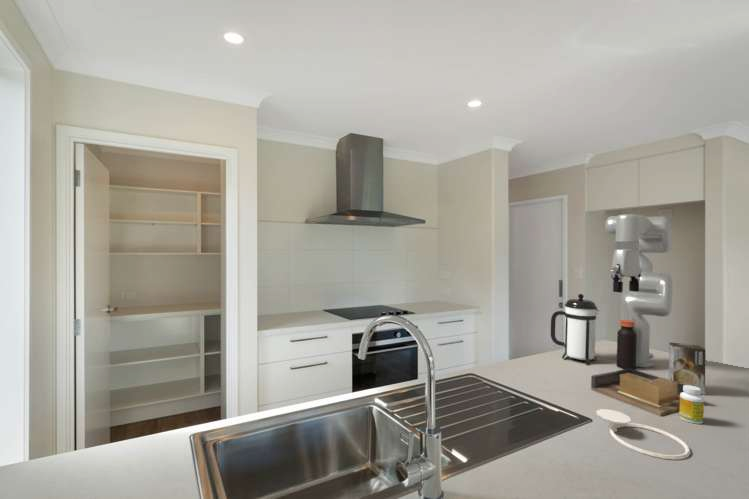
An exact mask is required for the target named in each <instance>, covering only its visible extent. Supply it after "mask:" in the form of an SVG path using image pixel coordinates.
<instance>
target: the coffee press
mask: <svg viewBox="0 0 749 499" xmlns="http://www.w3.org/2000/svg"><path fill="white" fill-rule="evenodd" d="M577 297H578V298H570V299H568V300H566V301H565V303H564V308H565V311H563V310H559V311H555V312H554V313H552V315H551V319H550V337H551V340H552V342H553V343H554V344H555V345H558V346H561V347H563V348H564V353H563V354H562V356H561V359H563V360H565V361H567V360H568V359H569V358H571V359H574V360H575V359H576V360H581V361H584V364H585V365H589V366H590V364H591V360H592V361H597V357H596V354H595V353H596V328H597V327H596V326H597V325H596V322H597V321H596V320H597V315H601V312H600V310H599V309H598V306H597V305H596V303H595V302H594V301H592V300H589V299H584V298H585V297H584V294H583V293H579V294H578V295H577ZM558 316H564V319H565V321H564V342H563V341H560V340H558V339H557V338H556V319H557V317H558Z"/></svg>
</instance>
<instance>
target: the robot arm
mask: <svg viewBox="0 0 749 499" xmlns="http://www.w3.org/2000/svg"><path fill="white" fill-rule="evenodd" d="M604 226H605V231H606V232H607V234H608V235H612V236H613V235H615V242H614V243H615V246H614V248H615V249H614V251H613V255H612V256H613V257H612V262H611V269H610V274H611V278H612V282H613V283H612V285H613V286H612V292H614V293H615V292H616V293H623V290H624V289H623V288H624V287H623V286H624V285H623V284H624V281H623V280H624V277H625V278H627V277H628V282H627V283H628V290H629V291H628V292H626V293H624V294H623V295H622V296H621V305H622V306H621V307H622V314H623V320H631V321H634V328H633V330H634V331H635V332H636V334H637V340H636V368H647V369H648V368H649V369H650V368H653V367H654V362H652V361H650V359H652V358H654V354H653V353H652V352H651V353H650V341H651V340H650V336H651V334H650V333H651V326H650V323H649V321H648V320H647V319H646V318H645V316H653V317H665V318H666V317H668V316H670V314H671V312H672V307H673V291H674V290H673V289H674V288H673V287H674V285H673V284H674V282H673V278H672V276H671V275H670V274H669V273H666V272H660V271H659V272H657V271H653V268H654V264H653V262H652V261H651V260H650V258H648V257H647V255H644V254H645V253H646V254H666V253H669V252H670V251H671V249H672V245H673V243H672V242H673V240H672V230H671V224H670V221H669V220H668V218H667V217H666V216H645V215H642V214H641V215H640V214H634V213H626V214H619V215H611V216H609V217H608V218H607V219H606V221H605V225H604ZM643 253H644V254H643Z"/></svg>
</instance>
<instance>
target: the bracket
mask: <svg viewBox="0 0 749 499" xmlns="http://www.w3.org/2000/svg"><path fill="white" fill-rule="evenodd" d="M620 392H622V393H625V394H628V395H631V396H633V397H636V398H639V399H642V400H645V401H647V402H650V403H653V404H656V405H662V404H666V403H669V402H673V401H677V396H678V382H676V381H673V380H669V378H666V377H661V378H658V379H653V380H651V379H647V378H644V377H641V376H638V375H634V374H631V373H624V374H620Z"/></svg>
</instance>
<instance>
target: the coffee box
mask: <svg viewBox="0 0 749 499" xmlns="http://www.w3.org/2000/svg"><path fill="white" fill-rule="evenodd" d="M668 344H669V347H668V348H669V349H668V350H669V354H668V357H669V358H668V360H669V361H668V379H669V380H673V381H676V382H678V383H681V384H684V385H691V386H695V387H698V388H700V389H701V394H700V395H703V396H705V395H706V349H705V348H704V347H702V346H701V345H697V344H687V343H678V342H669V343H668Z"/></svg>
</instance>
